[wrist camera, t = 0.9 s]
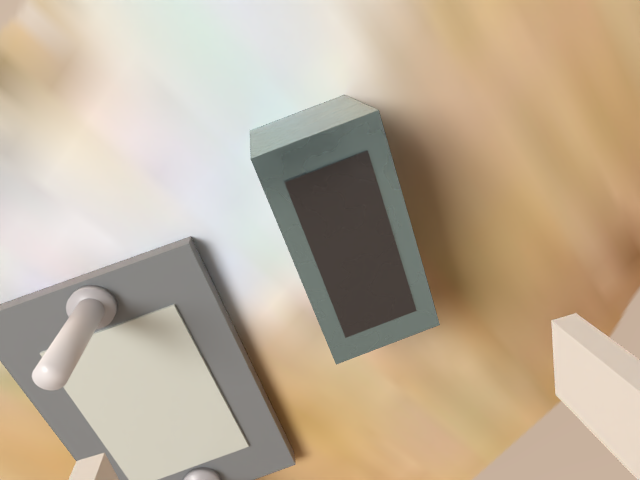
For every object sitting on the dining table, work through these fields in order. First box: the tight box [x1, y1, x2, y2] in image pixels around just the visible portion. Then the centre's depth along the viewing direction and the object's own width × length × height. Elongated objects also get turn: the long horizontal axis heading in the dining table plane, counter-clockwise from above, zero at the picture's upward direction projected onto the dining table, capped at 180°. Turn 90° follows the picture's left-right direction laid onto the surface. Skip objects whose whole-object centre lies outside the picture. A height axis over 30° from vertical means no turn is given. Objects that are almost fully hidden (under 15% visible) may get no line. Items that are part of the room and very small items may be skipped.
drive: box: [250, 95, 440, 364], centre depth 26 cm, size 6×12×8 cm, turn 19°
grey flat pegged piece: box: [0, 237, 295, 480], centre depth 30 cm, size 14×20×8 cm
